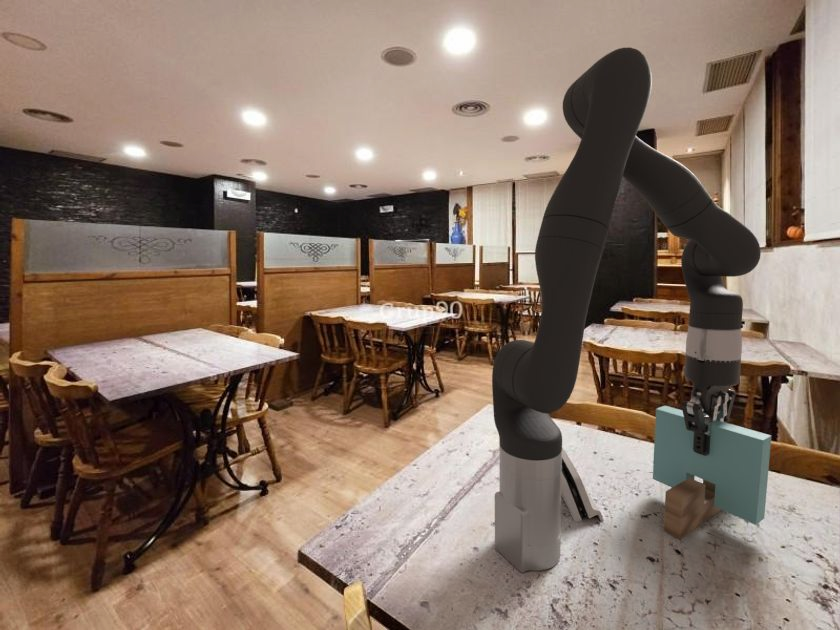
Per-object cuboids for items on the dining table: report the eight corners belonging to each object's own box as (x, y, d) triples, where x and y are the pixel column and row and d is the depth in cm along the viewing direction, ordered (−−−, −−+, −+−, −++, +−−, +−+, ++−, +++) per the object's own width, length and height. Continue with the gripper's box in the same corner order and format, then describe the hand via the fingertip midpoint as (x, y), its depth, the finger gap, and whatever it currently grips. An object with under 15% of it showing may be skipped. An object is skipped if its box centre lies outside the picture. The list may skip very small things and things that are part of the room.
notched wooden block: (679, 539, 63) (681, 498, 63) (663, 530, 66) (665, 491, 65) (736, 499, 73) (739, 464, 73) (721, 492, 76) (723, 458, 75)
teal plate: (652, 478, 75) (655, 408, 73) (661, 474, 77) (664, 405, 75) (756, 525, 62) (763, 440, 60) (764, 518, 63) (771, 435, 61)
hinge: (604, 522, 68) (586, 471, 67) (578, 530, 69) (559, 479, 68) (572, 471, 85) (557, 430, 84) (551, 478, 85) (536, 437, 84)
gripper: (707, 344, 73) (702, 433, 75) (666, 355, 66) (661, 453, 68) (758, 351, 66) (750, 448, 68) (718, 364, 59) (710, 472, 61)
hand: (706, 450), depth 68 cm, fingers closed on teal plate, 3 cm apart
